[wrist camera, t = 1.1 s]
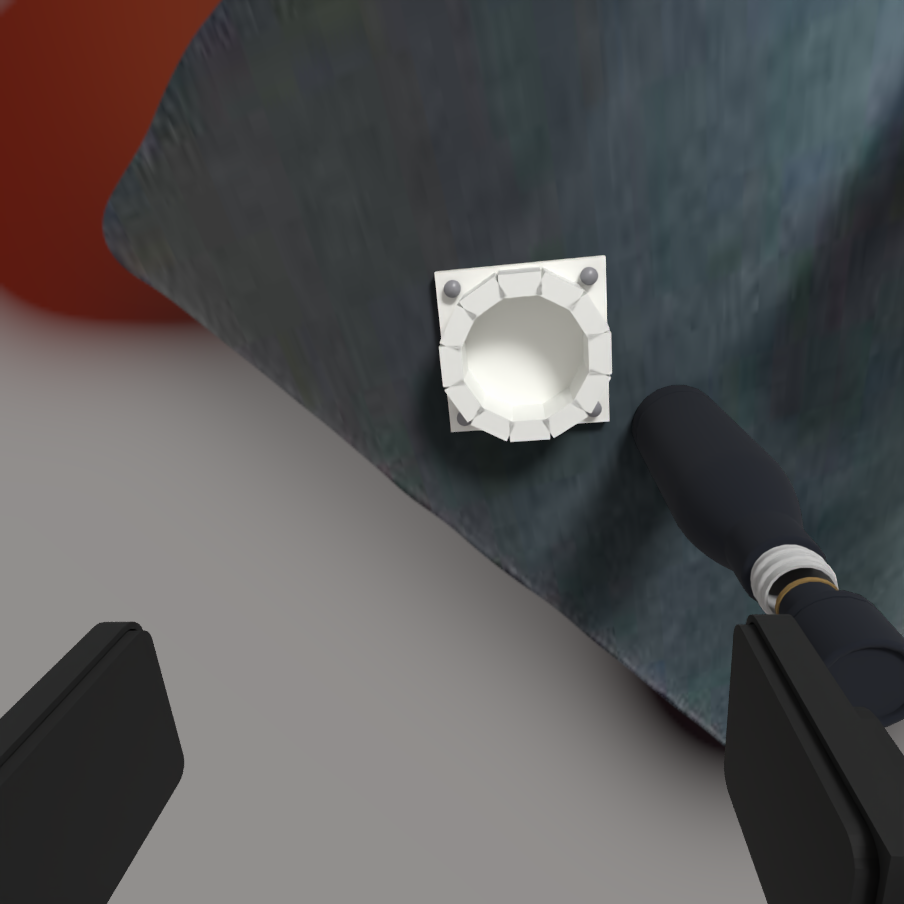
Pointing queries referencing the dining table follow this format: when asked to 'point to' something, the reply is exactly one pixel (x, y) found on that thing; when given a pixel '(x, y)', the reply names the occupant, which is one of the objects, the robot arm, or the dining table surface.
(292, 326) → the dining table surface
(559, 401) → the flange socket
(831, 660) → the dark blue bottle
